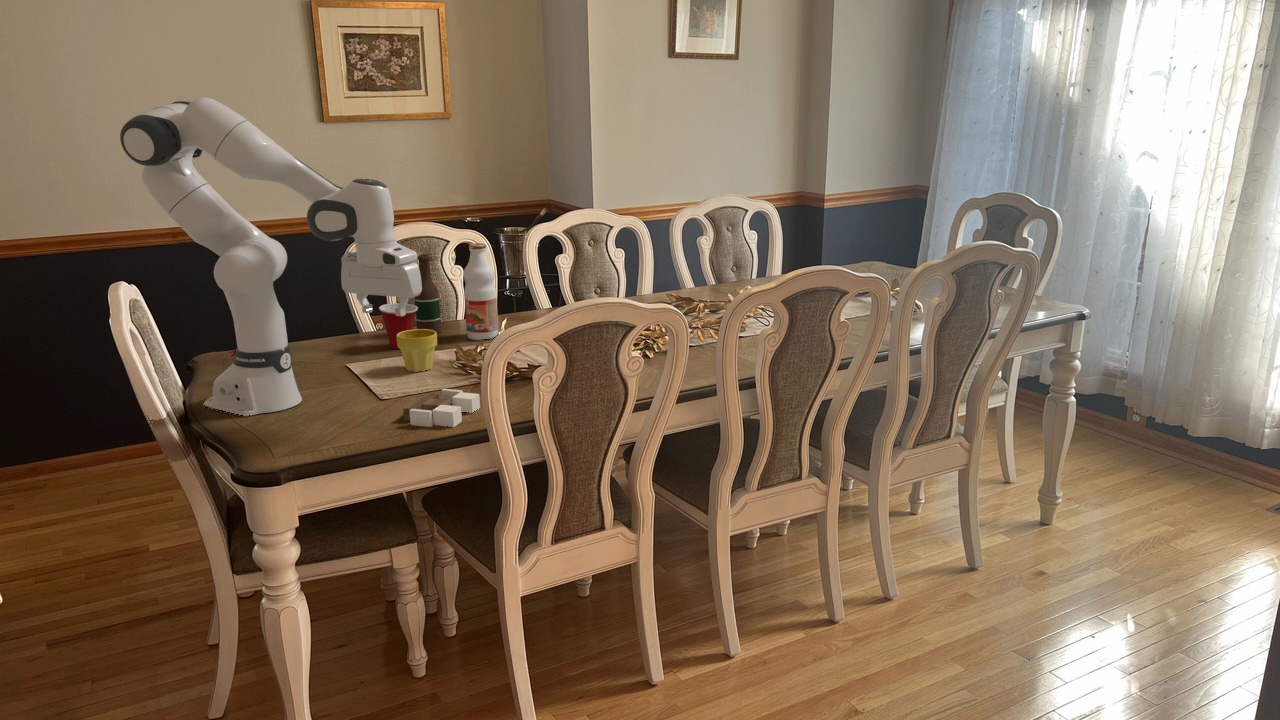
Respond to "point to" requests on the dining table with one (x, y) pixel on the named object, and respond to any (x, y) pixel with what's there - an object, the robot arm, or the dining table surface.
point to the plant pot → (417, 348)
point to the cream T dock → (447, 410)
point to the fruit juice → (480, 295)
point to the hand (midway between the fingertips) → (384, 314)
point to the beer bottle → (427, 299)
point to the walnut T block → (425, 404)
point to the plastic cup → (397, 321)
